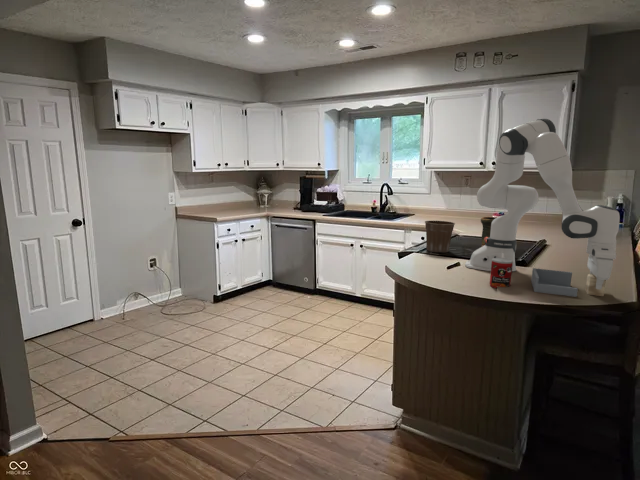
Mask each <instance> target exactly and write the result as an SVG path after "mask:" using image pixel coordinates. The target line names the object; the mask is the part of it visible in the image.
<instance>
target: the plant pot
mask: <svg viewBox="0 0 640 480" xmlns="http://www.w3.org/2000/svg"><path fill="white" fill-rule="evenodd" d="M424 224H425V231H426V232H425V233H426V237H425V239H426V240H425V242H426V250H427V251H428V252H431V253H442V254H443V253H448V252H450V247H451V241H452V236H453V231H454V227H455V224H456V223H455V222H453V221H445V220H425V221H424Z"/></svg>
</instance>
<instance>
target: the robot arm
mask: <svg viewBox="0 0 640 480" xmlns="http://www.w3.org/2000/svg"><path fill="white" fill-rule="evenodd" d="M526 153H529V154H531V155H532V157H533V160H534V163H535V166H536V168H537V171H538V173H539V175H540V177H541V178H542V180H543V181H544V183H545V184H546V185H548V187H550V189H551V190H552V191H553V192H554V194H555V196H556V198H557V202H558V204H559V207H560V209H561V213H562V217H561V230H562V233H563V235H565V236H566V237H567V238H570V239H574V240H577V239H587V245H586V253H587V254H588V259H587V263H586V264H587V265H586V267H587V269H588V270H589V274H592V275H595V276H596V278H597V281H596V284H595V288H596V289H602V284H603V282H604V280H606V281H608V280H609V279H610V278H611V274H612V271H613V270H612V269H613V266H614V260H616V259H617V252H616V249H617V235H618V233H619V229H620V221H621V219H620V212H619V211H618V210H617V209H616V208H615V207H611V206H607V205H602V204H597V205H595V206H593V207H590V208H587V209H585V210H583V209H582V208H581V206H580V203H579V201H578V199H577V196H576V192H575V190H574V187H573V168H572V163H571V158H570V156H569V154H568V151H567V149H566V147H565V145H564V142H563V141H562V140H561V138H560V136H559V134H557V129H556V126H555V124H554V122H553V121H552V120H550V119H549V118H537V119H536V120H532V121H527V122H524V123H522V124H520V125H516V126H515V127H513V128H509V129H506V130H505V131H503V132H502V133H501V134H500V136H499V140H498V147H497V153H496V162H495V170H494V174H493V176H492V177H491V179H490V180H489V181H487V183H485V184H483V185H482V186H480V188H479V189H478V190H477V194H476V200H477V202H478V205H480V206H481V207H485V208H490V209H499V210H501V209H502V210H507V212H506V213H504V214H503V215H500V216H496V217H497V218H495V219H494V220H493V221H492V223H491V232H490V237H489V238H488V237H485V239H484V240H485V245H484V246H482V245H481V247H479V248H477V249H475V250H474V251H473V252H472V253H471V256H470V259H469V260H466V261H465V264H464V265H465V267H466V268H468V269H475V270H480V271H487V272H491V264H492V259H493V258H507V259H510V260H512V261H513V266H512V272H516V271H517V267H516V259H515V258H516V256H515V253H516V250H517V244H518V243H517V233H518V228H519V223H520V221H521V219H522V218H523V216H525V214H526V213H527V212H529V211H531V210H533V209H534V208H535V207H536V206H537V204H538V202H539V198H540V196H539V193H538V191H537V189H536V188H535V187H533V186H528V185H522V184H521V185H518V184H511V183H514V182H515V181H517V180H519V179H520V178H521V177H522V176H523V174H524V167H525V157H526V156H525V155H526Z"/></svg>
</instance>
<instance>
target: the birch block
mask: <svg viewBox="0 0 640 480" xmlns="http://www.w3.org/2000/svg"><path fill="white" fill-rule="evenodd" d="M596 281H597V278H596V276H595V275H592V274H590V273H588V274H587V276H586V285H585V292H586V294H587V295H589V296H590V295H591V296H597V297H599V296H600V297H604V295H605V291H606V290H605V288H606V283H607V280H604V282H603V284H602V289H596V288H595V284H596Z"/></svg>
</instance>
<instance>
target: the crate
mask: <svg viewBox="0 0 640 480" xmlns="http://www.w3.org/2000/svg"><path fill="white" fill-rule="evenodd" d="M572 276H573V272H571V271H564V270H563V271H562V270H552V269H545V268H544V269H543V268H535V267H533V268H532V273H531V280H530V281H531V282H530V283H531V285H532V288H533V292H534V293H543V294H550V295H559V296H565V297H566V296H567V297H573V298H575V297H577V296H578V288H577V287H571V284H572Z"/></svg>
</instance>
